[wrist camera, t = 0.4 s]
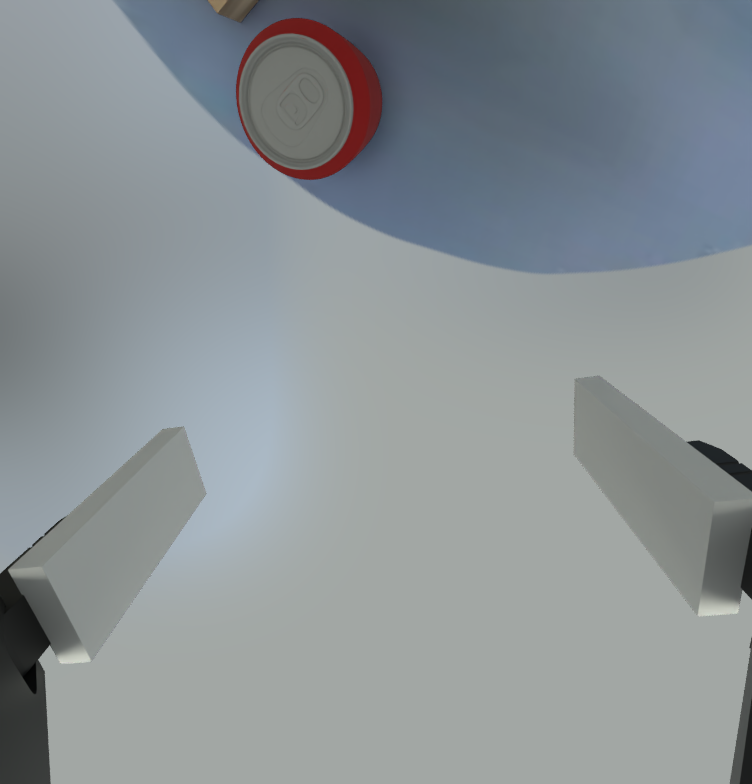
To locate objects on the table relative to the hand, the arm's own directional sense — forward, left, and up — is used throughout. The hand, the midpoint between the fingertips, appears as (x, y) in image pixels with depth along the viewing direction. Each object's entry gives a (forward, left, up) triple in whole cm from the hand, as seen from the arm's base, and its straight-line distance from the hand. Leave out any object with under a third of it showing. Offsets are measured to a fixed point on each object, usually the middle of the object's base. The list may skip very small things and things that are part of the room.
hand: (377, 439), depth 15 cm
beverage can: (-2, -10, -25) cm, 27 cm away
